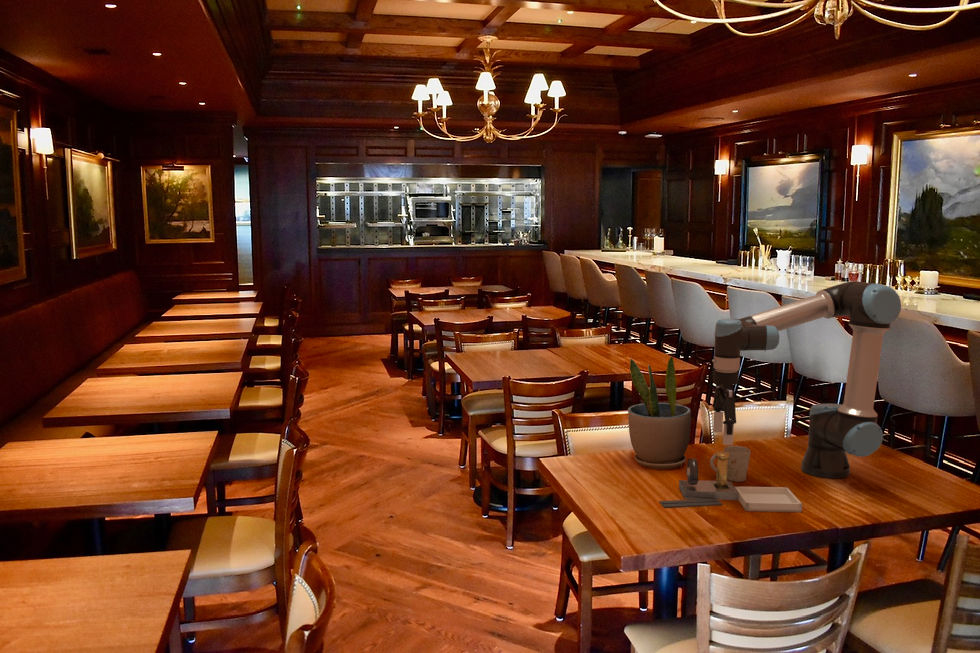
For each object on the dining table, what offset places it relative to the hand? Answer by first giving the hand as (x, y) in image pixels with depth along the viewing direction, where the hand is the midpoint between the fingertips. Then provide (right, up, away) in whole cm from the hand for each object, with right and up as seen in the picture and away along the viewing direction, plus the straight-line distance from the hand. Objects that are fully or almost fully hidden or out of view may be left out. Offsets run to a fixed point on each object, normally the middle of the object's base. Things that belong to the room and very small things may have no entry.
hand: (722, 438), depth 243 cm
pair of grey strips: (-11, -19, -6) cm, 23 cm away
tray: (+12, -19, -5) cm, 23 cm away
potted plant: (-13, -14, +33) cm, 38 cm away
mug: (+7, -16, +17) cm, 24 cm away
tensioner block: (-4, -18, +3) cm, 18 cm away
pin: (0, -18, +3) cm, 18 cm away
